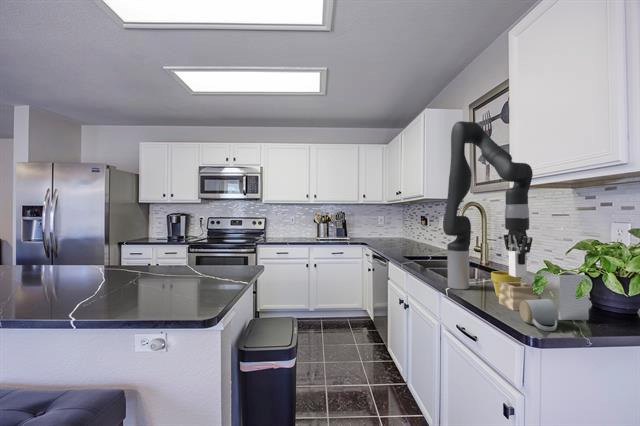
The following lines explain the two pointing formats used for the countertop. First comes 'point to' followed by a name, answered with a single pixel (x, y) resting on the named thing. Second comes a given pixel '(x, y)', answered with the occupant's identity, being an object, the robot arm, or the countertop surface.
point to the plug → (516, 265)
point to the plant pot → (502, 279)
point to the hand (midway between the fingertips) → (517, 263)
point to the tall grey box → (566, 295)
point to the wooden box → (515, 294)
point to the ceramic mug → (539, 313)
